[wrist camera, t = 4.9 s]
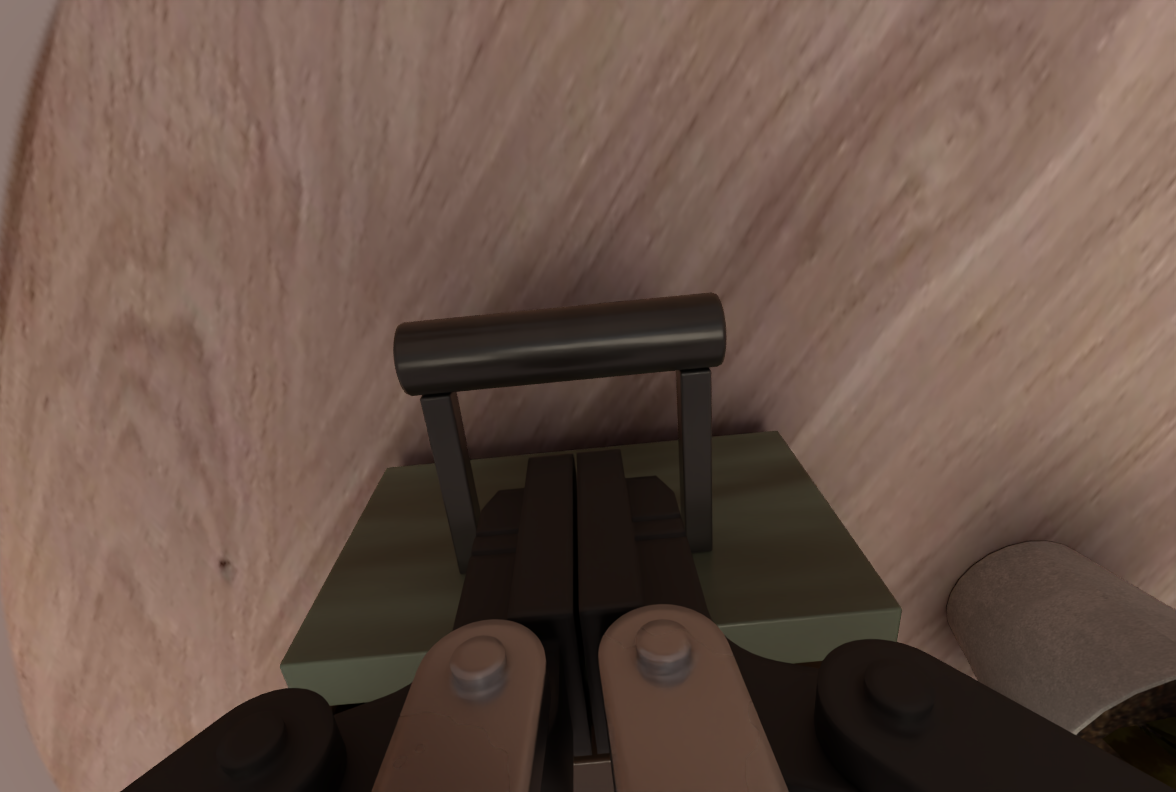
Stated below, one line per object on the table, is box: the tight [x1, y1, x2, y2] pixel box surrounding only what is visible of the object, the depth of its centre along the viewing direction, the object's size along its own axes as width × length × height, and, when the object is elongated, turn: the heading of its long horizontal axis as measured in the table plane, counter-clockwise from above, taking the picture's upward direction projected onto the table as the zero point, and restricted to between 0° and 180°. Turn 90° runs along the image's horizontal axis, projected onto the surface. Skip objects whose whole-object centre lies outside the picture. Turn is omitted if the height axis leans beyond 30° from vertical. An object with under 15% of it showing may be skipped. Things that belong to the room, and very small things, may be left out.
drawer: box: [280, 292, 902, 725], centre depth 16 cm, size 19×12×7 cm, turn 5°
